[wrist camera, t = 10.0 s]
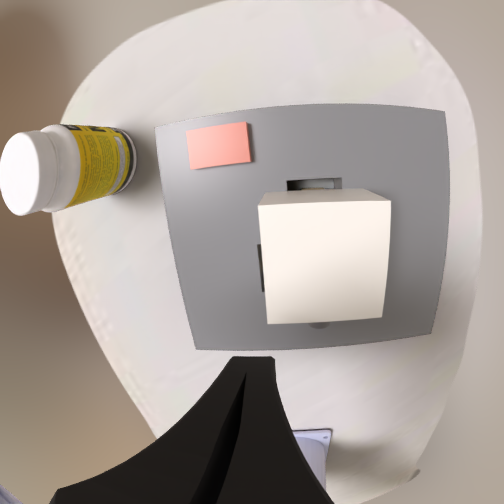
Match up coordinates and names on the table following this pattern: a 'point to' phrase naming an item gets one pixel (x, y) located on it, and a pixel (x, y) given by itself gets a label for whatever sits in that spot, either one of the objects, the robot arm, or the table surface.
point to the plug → (324, 255)
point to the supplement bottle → (64, 167)
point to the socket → (275, 180)
